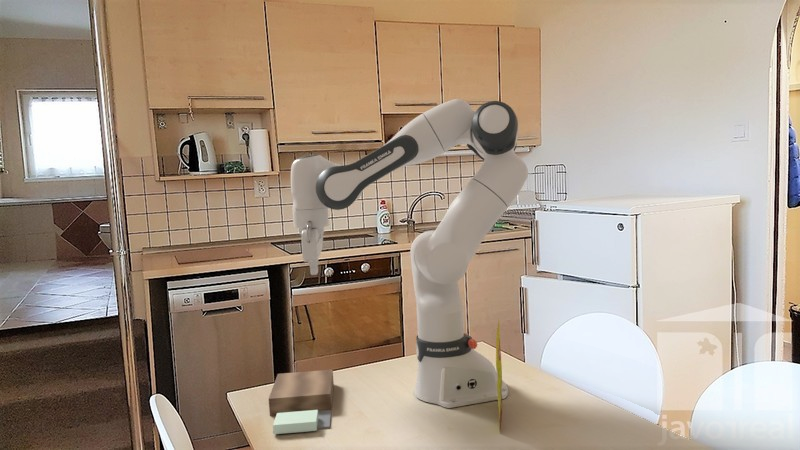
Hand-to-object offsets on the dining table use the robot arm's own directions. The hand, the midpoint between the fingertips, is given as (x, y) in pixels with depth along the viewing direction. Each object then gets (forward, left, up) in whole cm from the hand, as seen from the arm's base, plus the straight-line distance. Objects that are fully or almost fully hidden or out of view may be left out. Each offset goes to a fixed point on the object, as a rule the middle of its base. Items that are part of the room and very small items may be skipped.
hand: (314, 273), depth 145 cm
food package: (-40, +28, -29) cm, 57 cm away
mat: (+3, +22, -29) cm, 36 cm away
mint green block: (+4, +24, -27) cm, 36 cm away
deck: (+4, +9, -29) cm, 31 cm away
